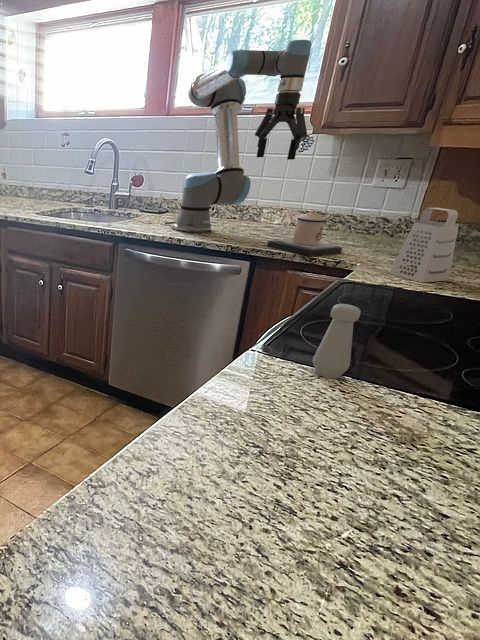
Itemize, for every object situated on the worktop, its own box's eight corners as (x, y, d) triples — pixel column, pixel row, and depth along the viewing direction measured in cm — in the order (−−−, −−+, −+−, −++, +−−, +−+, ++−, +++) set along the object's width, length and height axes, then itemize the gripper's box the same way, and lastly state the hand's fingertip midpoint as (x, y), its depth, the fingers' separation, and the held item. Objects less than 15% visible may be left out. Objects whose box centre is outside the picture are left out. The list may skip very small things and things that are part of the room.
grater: (422, 282, 153) (446, 212, 145) (388, 273, 162) (410, 207, 154) (448, 280, 156) (474, 211, 148) (414, 271, 165) (436, 206, 157)
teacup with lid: (320, 246, 186) (329, 213, 181) (291, 243, 189) (299, 210, 184) (318, 240, 195) (327, 208, 191) (291, 238, 199) (299, 206, 194)
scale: (267, 246, 197) (268, 239, 196) (297, 243, 203) (299, 236, 202) (308, 256, 182) (310, 249, 181) (340, 253, 188) (342, 246, 187)
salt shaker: (333, 367, 98) (353, 300, 93) (353, 380, 93) (375, 311, 88) (303, 367, 98) (321, 300, 93) (321, 380, 93) (341, 311, 87)
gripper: (252, 93, 189) (240, 156, 198) (312, 90, 168) (296, 160, 177) (267, 94, 192) (255, 156, 201) (329, 91, 171) (312, 160, 180)
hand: (274, 158), depth 189 cm, fingers open, 13 cm apart
